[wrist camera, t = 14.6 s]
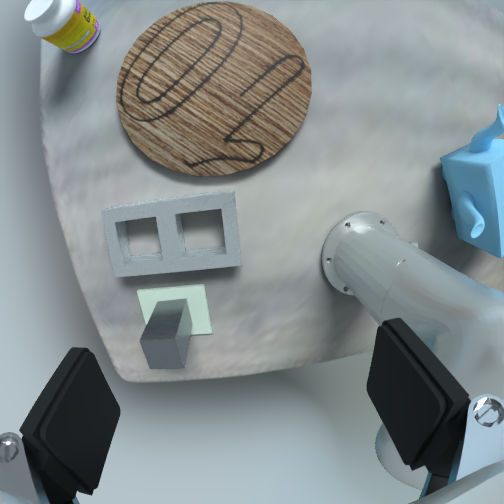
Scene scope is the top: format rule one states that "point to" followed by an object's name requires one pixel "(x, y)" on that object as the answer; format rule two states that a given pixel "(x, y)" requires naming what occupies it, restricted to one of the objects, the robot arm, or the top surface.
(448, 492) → the robot arm
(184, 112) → the trivet
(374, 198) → the top surface
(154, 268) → the grey cinder block
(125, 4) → the top surface
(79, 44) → the supplement bottle
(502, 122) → the teakettle
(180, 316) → the zinc peg
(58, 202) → the top surface
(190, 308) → the sage pad
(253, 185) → the top surface
